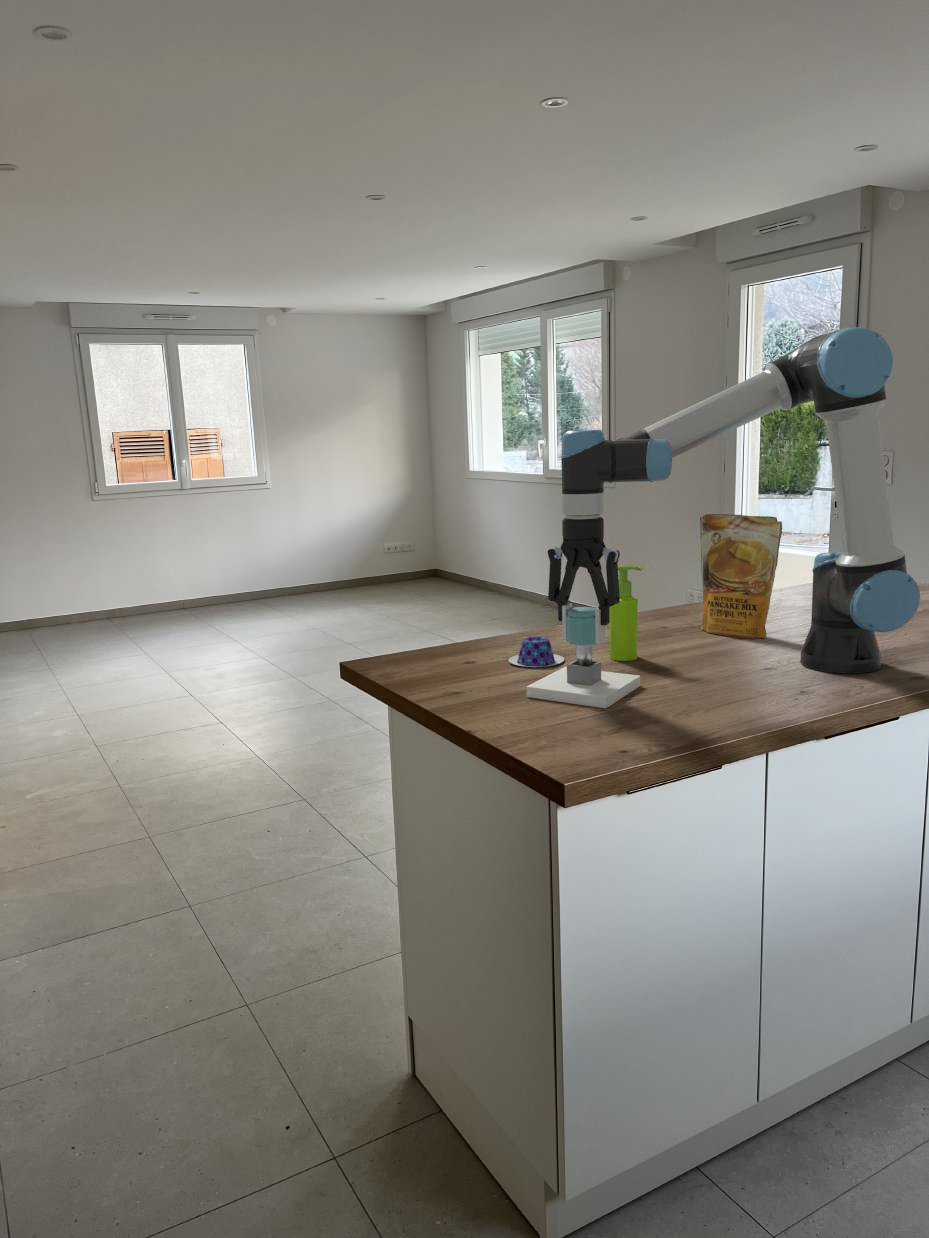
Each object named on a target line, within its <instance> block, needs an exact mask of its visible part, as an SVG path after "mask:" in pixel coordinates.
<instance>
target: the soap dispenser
mask: <svg viewBox="0 0 929 1238" xmlns="http://www.w3.org/2000/svg"><path fill="white" fill-rule="evenodd" d="M628 570H629V571H631V570H633V571H640V572H641V571H642V570H643V566H639V565H633V564H632V565H630V564H629V565H618V579H619V595H620V602H619V603H618V604H616V605H613V606H611V607H610V622H609V659H610V660H612V661H616V662H629V661H630V662H632V661H635V660H637V659H638V597H636V596H634V595H632V594H633V593H632V588H633V587H632V581H631V580H629V579H628V578H629V577H628V574H629V573H628Z"/></svg>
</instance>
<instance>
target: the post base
mask: <svg viewBox="0 0 929 1238" xmlns="http://www.w3.org/2000/svg"><path fill="white" fill-rule="evenodd" d="M639 687H641V675H637V674H630V673H628V674H627V673H621V672H611V671H605V670H602V661H598V660H592V665H591V666H589V667H588V666H580V665H576V659H575V660H573V661H571V662H569V663H567V664H566V666H563V667H561V668H560V669H558V670H556V671H554V672H552V673H550V674H549V675H546V676H544V677H542V678H541V679H538V680H536V681H535V682H534V681H533V683H531V684H529V685H526V697H527V698H531V699H532V698H533V699H539V700H546V701H553V702H559V703H565V704H566V703H567V704H573V705H579V706H587V707H592V708H599V709H600V708H601V709H607V708H609V707H610V706H612V705H614V704H615V703H617V702H618V701H620V700H621V699H623V698H624V697H625V696H627V695H629V694H630V693H632V692H633V691H635V690H636V689H638V688H639Z"/></svg>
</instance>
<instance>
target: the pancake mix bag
mask: <svg viewBox="0 0 929 1238" xmlns="http://www.w3.org/2000/svg"><path fill="white" fill-rule="evenodd" d="M699 519H700V520H699V522H700V526H699V527H700V535H699V536H700V548H701V549H700V558H701V559H700V560H701V561H700V563H701V564H700V565H701V568H700V569H701V577H702V578H701V579H702V601H703V610H702V621H701V626H700V630H701V631H704V632H706V633H708V634H713V635H720V636H726V637H727V636H728V637H735V638H736V637H737V638H740V639H741V638H742V639H750V640H751V639H752V640H755V639H756V640H757V639H767V629H766V624H767V619H768V616H769V615H768V614H769V611H770V604H771V599H772V593H773V588H774V587H773V586H774V582H775V577H776V569H777V566H778V561H779V552H780V544H781V543H780V542H781V538H782V535H783V521H780V520H779V521H778V519H777V516H771V515H770V516H769V515H767V516H764V515H762V516H760V515H743V514H729V513H727V514H725V513H708V514H707V513H706V514H704V515H701V516H699Z"/></svg>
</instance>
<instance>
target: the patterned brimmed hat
mask: <svg viewBox="0 0 929 1238" xmlns="http://www.w3.org/2000/svg"><path fill="white" fill-rule="evenodd" d="M508 662H509V663H510V664H512V665H515V666H519V667H525V668H543V667H545V668H547V667H550V666H551V667H552V666H556V665H559V664H561V663H563V662H565V658H564V657H563V656H562V655H558V654H555V653H554V652H553V649H552V643H551V642H550V639H549V638H547V637H543V636H531V637H530V636H529V637H526V638H524V639H523V640H522V642H521V643H520V648H519V653H518V654H516V655H513V656H511V657H509V658H508Z"/></svg>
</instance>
